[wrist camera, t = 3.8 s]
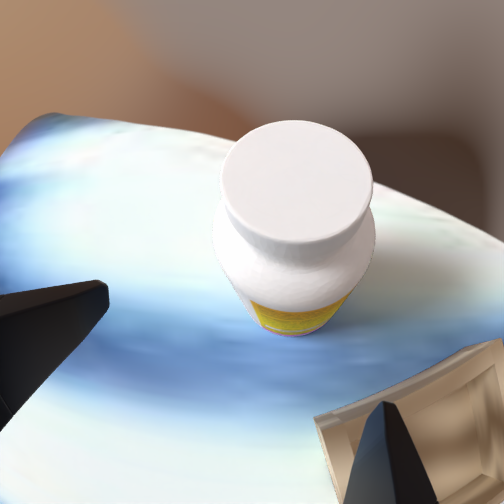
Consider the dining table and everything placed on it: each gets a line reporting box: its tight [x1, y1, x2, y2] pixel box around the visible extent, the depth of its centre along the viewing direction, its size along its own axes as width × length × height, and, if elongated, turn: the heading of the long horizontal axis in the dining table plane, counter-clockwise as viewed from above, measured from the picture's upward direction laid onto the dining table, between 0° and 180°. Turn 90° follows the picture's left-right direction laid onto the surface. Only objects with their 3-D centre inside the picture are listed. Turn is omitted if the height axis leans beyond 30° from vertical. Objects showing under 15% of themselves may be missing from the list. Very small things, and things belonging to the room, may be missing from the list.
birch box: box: [313, 338, 504, 504], centre depth 12 cm, size 12×12×5 cm
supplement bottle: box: [213, 120, 375, 337], centre depth 14 cm, size 7×7×13 cm
